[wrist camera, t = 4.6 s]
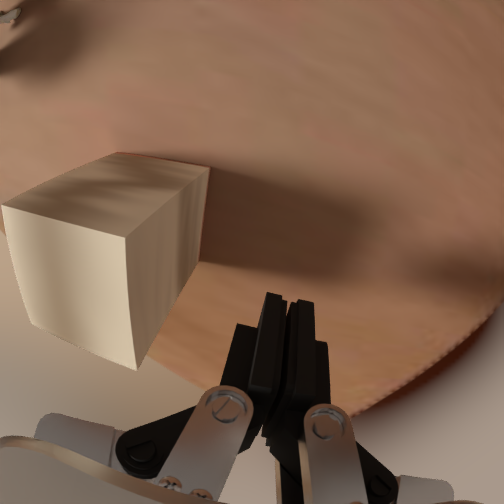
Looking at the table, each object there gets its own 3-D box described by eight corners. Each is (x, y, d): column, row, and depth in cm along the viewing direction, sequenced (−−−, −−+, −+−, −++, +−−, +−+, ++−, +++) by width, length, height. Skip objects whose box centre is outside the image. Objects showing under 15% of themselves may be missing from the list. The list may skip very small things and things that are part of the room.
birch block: (210, 166, 16) (125, 237, 8) (198, 260, 19) (136, 370, 11) (116, 152, 16) (1, 204, 8) (116, 239, 19) (31, 323, 11)
